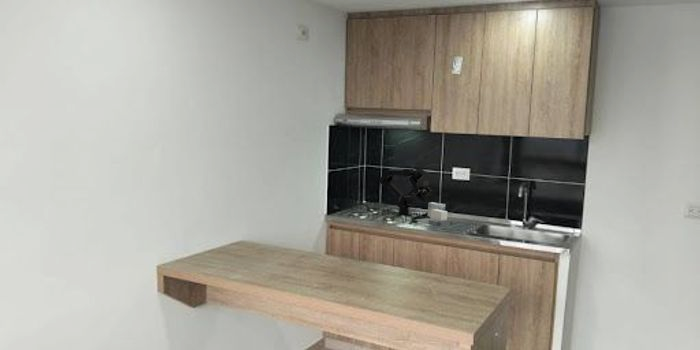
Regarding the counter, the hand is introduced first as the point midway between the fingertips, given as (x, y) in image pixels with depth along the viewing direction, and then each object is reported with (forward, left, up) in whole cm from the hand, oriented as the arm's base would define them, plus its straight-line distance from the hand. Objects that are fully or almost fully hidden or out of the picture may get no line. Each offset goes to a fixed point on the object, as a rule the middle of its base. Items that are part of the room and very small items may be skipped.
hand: (425, 201), depth 372 cm
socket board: (+7, -4, -14) cm, 16 cm away
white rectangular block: (+11, -6, -13) cm, 18 cm away
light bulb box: (+5, +17, -14) cm, 23 cm away
